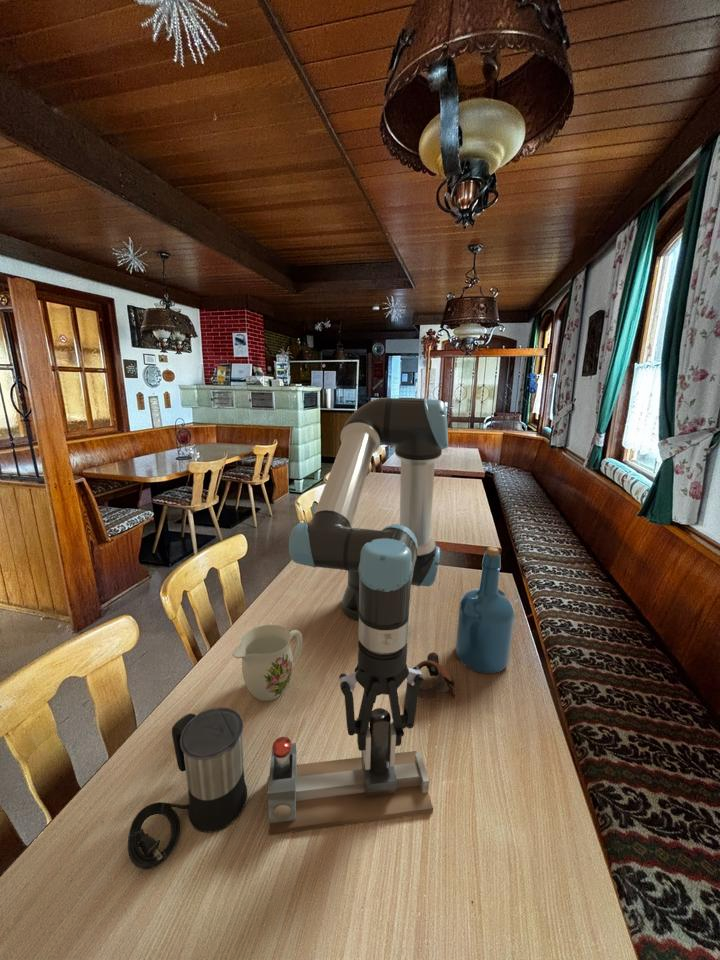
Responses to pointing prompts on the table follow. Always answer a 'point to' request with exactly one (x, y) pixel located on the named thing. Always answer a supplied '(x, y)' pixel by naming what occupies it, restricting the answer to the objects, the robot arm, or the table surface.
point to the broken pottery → (443, 678)
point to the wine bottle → (486, 621)
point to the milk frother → (199, 781)
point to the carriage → (379, 757)
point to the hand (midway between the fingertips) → (378, 760)
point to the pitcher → (268, 660)
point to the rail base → (342, 794)
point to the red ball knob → (282, 755)
